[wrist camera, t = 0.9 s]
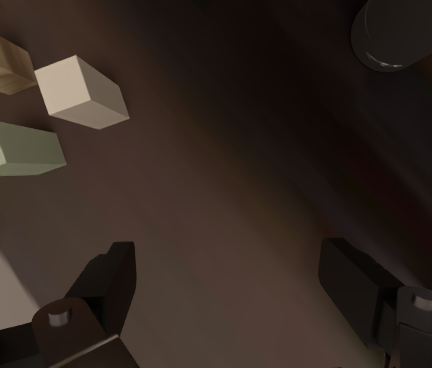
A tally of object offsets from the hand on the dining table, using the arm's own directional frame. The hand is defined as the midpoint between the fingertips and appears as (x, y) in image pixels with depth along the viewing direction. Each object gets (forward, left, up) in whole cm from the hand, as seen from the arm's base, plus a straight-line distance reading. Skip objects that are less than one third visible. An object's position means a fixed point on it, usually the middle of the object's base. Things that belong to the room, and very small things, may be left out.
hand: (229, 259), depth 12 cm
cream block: (-5, -20, -25) cm, 32 cm away
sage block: (+4, -26, -25) cm, 36 cm away
